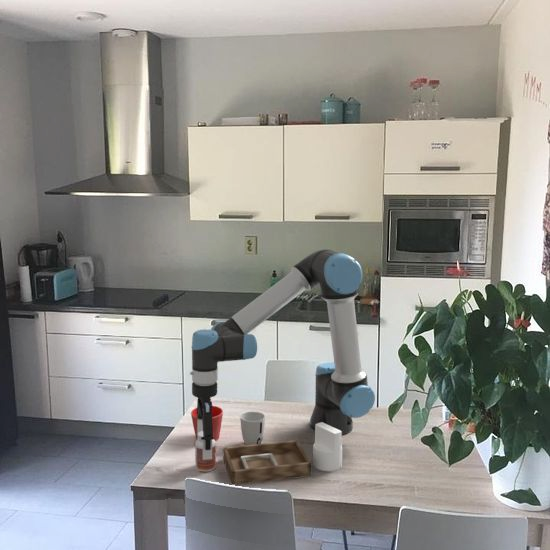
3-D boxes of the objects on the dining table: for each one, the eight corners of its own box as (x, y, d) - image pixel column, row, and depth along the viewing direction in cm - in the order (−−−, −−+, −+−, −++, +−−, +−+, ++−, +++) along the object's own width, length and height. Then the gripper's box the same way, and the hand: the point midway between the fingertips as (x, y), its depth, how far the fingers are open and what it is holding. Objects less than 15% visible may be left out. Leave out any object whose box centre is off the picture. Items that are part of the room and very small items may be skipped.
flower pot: (185, 442, 205) (185, 415, 203) (200, 429, 215) (199, 403, 213) (214, 447, 201) (214, 419, 200) (228, 434, 212) (228, 407, 210)
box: (297, 451, 199) (297, 440, 198) (311, 475, 184) (311, 463, 183) (223, 459, 193) (223, 447, 193) (231, 484, 178) (231, 472, 177)
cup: (261, 451, 199) (262, 422, 197) (237, 449, 201) (237, 420, 199) (267, 440, 207) (267, 412, 205) (243, 438, 208) (243, 410, 207)
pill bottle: (219, 468, 188) (219, 434, 186) (202, 474, 184) (201, 439, 182) (209, 460, 193) (209, 427, 191) (192, 466, 189) (191, 432, 187)
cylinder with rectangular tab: (306, 463, 192) (307, 426, 189) (327, 454, 197) (328, 419, 195) (327, 474, 185) (328, 436, 183) (348, 465, 191) (349, 428, 188)
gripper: (187, 369, 194) (188, 432, 198) (196, 397, 171) (196, 469, 174) (211, 367, 196) (211, 430, 200) (223, 396, 172) (223, 466, 176)
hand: (204, 448), depth 187 cm, fingers open, 13 cm apart
